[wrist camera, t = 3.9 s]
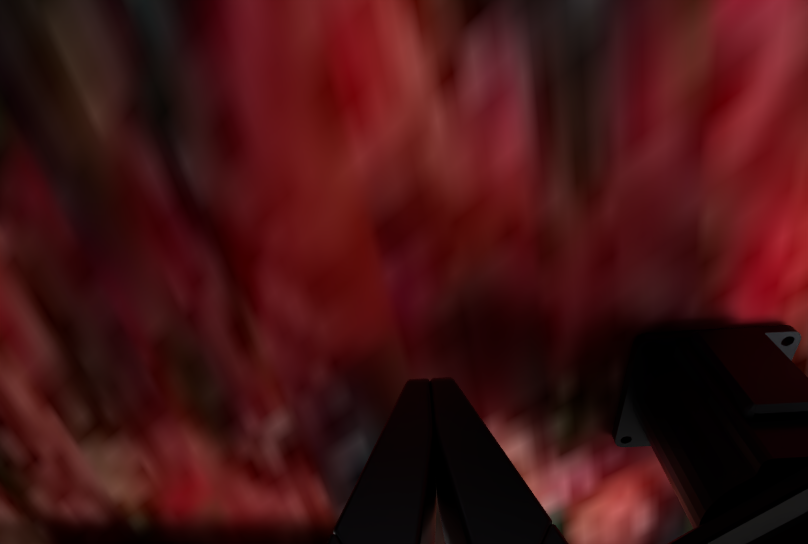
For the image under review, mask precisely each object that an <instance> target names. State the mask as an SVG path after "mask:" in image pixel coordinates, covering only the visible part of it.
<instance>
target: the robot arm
mask: <svg viewBox="0 0 808 544" xmlns="http://www.w3.org/2000/svg"><path fill="white" fill-rule="evenodd" d="M800 340H801V335H800V333H798V332H797V331H796V330H795V329H794V328H793V327H792V326H789V325H780V326H762V327H744V328H726V329H708V330H689V331H671V332H653V333H644V334H642V335H640V336H638V337H637V338H636V339H635V341H634V343H633V347H632V351H631V355H630V359H629V364H628V368H627V372H626V377H625V381H624V385H623V389H622V394H621V398H620V402H619V406H618V411H617V415H616V419H615V423H614V428H613V432H612V437H613V439H614V441H615V443H616V445H617V446H620V447H637V446H651V447H652V449H653V451H654V452H655V454H656V456H657V458H658V460H659V462H660V464H661V466H662V468H663V470H664V472H665V474H666V476H667V478H668V480H669V482H670V484H671V486H672V487H673V489H674V491H675V493H676V495H677V497H678V499H679V501H680V503H681V505H682V507H683V509H684V511H685V513H686V515H687V517H688V519H689V520H690V522H691V524H692V526H693V528H694V529H692V530H691V531H689V532H687V533H685V534H684V535H682V536H680V537H678V538H677V539H675V540H673V541H671V542H670V543H668V544H808V378H807V377H806V375H805V374H804V373H803V372H802V371H801V370H800V369H799V368H798V367H797V366H796V365H795V364H794V363H793V362H792V361H791V360H792V358H793V356H794V354H795V351H796V349H797V347H798V345H799V343H800ZM648 344H650V345H649V346H647V347H645V346H646V345H648ZM436 489H437V499H438V506H439V512H440V518H441V523H442V528H443V534H444V539H445V544H568V543H567V541H566V540H565V538H564V537H563V535H562V534H561V533H560V531H559V530H558V528H557V527H556V525H554V524H552V520H551V519H550V517H549V516H548V514H547V513H546V511H545V510H544V509H543V507H542V506H541V504H540V503H539V501H538V500H537V498H536V497H535V496H534V494H533V493H532V491H531V490H530V488H529V487H528V485H527V484H526V483H525V481H524V480H523V478H522V477H521V475H520V474H519V473H518V471H517V470H516V468H515V467H514V465H513V464H512V462H511V461H510V460H509V458H508V457H507V455H506V454H505V452H504V451H503V449H502V448H501V447H500V445H499V444H498V442H497V441H496V439H495V438H494V437H493V435H492V434H491V432H490V431H489V429H488V428H487V426H486V425H485V424H484V422H483V421H482V419H481V418H480V416H479V415H478V414H477V412H476V411H475V409H474V408H473V406H472V405H471V403H470V402H469V401H468V399H467V398H466V396H465V395H464V393H463V392H462V390H461V389H460V388H459V386H458V385H457V383H456V382H455V381H454V379H452V378H433V379H432V380H431V381H429V380H428V379H410V380H408V381H407V382H406V384H405V386H404V388H403V390H402V392H401V394H400V396H399V398H398V400H397V402H396V404H395V406H394V408H393V410H392V412H391V414H390V416H389V418H388V420H387V422H386V424H385V426H384V428H383V430H382V432H381V434H380V436H379V438H378V440H377V442H376V444H375V446H374V448H373V451H372V453H371V455H370V457H369V459H368V461H367V463H366V465H365V467H364V469H363V471H362V473H361V475H360V477H359V479H358V481H357V483H356V485H355V487H354V489H353V491H352V493H351V495H350V497H349V499H348V501H347V503H346V505H345V507H344V509H343V511H342V513H341V515H340V517H339V519H338V521H337V523H336V525H335V528H334V530H333V533H334V534H331V535H330V537H329V539H328V541H327V543H326V544H434V542H435V524H436Z"/></svg>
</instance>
